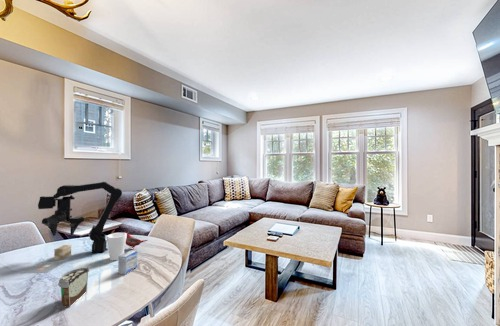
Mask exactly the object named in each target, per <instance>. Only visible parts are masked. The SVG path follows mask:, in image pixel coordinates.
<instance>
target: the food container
mask: <svg viewBox="0 0 500 326" xmlns="http://www.w3.org/2000/svg"><path fill="white" fill-rule="evenodd" d="M89 272H90V268H89V266H88V267H87V266H85V267H79V268H75V269H72V270H69V271H67V272H66V273H64V274H63V275H61V276H60V278H59V280H58V284H57V285H58V286H59V288H60V295H61V305H62V306H63V307H64V306H66V307H65V308H71V307H72V306H73V305H74V304H75V303H76V302H77V301H78V300H77V299H79V298H80V297H81V296H82V295H83V294H84V293H85V292H86V293H87V292H88V290H87V289H88V278H89ZM86 293H85V294H86ZM85 294H84V295H85ZM84 295H83V296H84ZM83 296H82V297H83ZM82 297H81V298H82ZM81 298H80V299H81ZM80 299H79V300H80ZM76 300H77V301H76ZM75 301H76V302H75ZM74 302H75V303H74ZM73 303H74V304H73ZM72 304H73V305H72ZM71 305H72V306H71ZM70 306H71V307H70Z"/></svg>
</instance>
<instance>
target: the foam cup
mask: <svg viewBox="0 0 500 326" xmlns="http://www.w3.org/2000/svg"><path fill="white" fill-rule="evenodd" d="M126 233H127V232H113V233H110V234H108V235H106V240H107V248H108V255H109V260H110V261H112V262H113V260H116V261H118V257H119V256H120V255H122V254H124V253H125V248H126V238H127V234H126Z"/></svg>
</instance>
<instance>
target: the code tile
mask: <svg viewBox="0 0 500 326" xmlns="http://www.w3.org/2000/svg"><path fill="white" fill-rule="evenodd" d="M65 263H66V261H42V262H39V263H37V264H36V265H34V266H32V267H30V268H28V269H26V270H24V271H22V272H21V274H47V273H50V272H51V271H53V270H55V269H56V268H58V267H59V266H61V265H63V264H65Z"/></svg>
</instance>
